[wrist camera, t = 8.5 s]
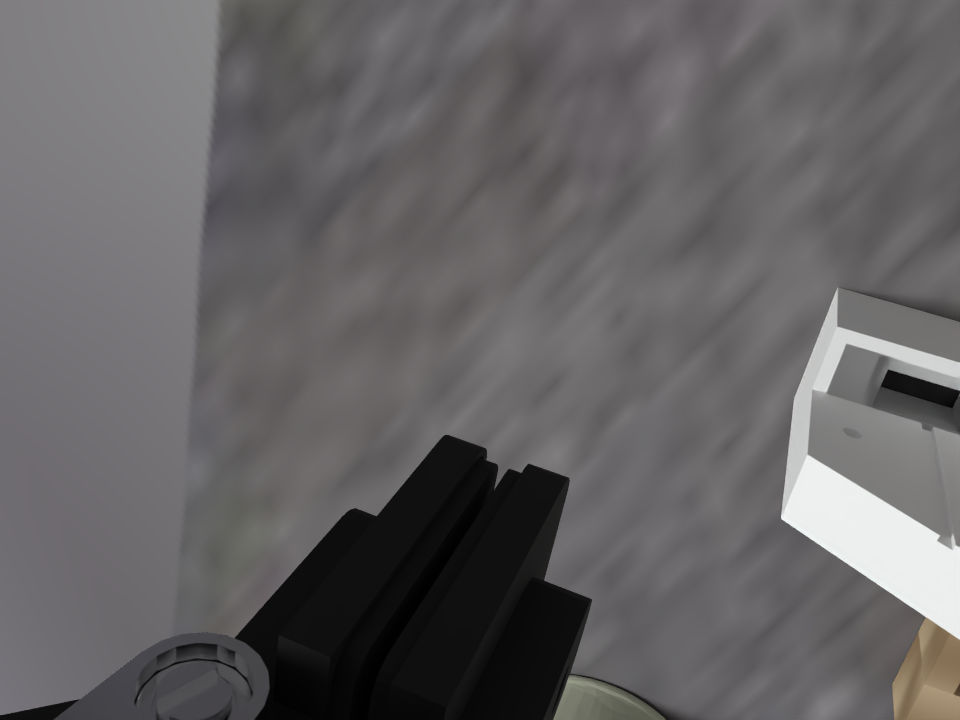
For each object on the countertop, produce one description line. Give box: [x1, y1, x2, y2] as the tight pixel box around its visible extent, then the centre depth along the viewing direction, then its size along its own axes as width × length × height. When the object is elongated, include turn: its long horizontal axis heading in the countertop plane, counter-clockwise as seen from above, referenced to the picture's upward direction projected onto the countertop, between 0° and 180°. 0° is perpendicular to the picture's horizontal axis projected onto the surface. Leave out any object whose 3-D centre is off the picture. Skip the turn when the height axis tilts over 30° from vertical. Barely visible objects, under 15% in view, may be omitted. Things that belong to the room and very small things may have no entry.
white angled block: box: [781, 287, 960, 640], centre depth 22 cm, size 4×10×9 cm
